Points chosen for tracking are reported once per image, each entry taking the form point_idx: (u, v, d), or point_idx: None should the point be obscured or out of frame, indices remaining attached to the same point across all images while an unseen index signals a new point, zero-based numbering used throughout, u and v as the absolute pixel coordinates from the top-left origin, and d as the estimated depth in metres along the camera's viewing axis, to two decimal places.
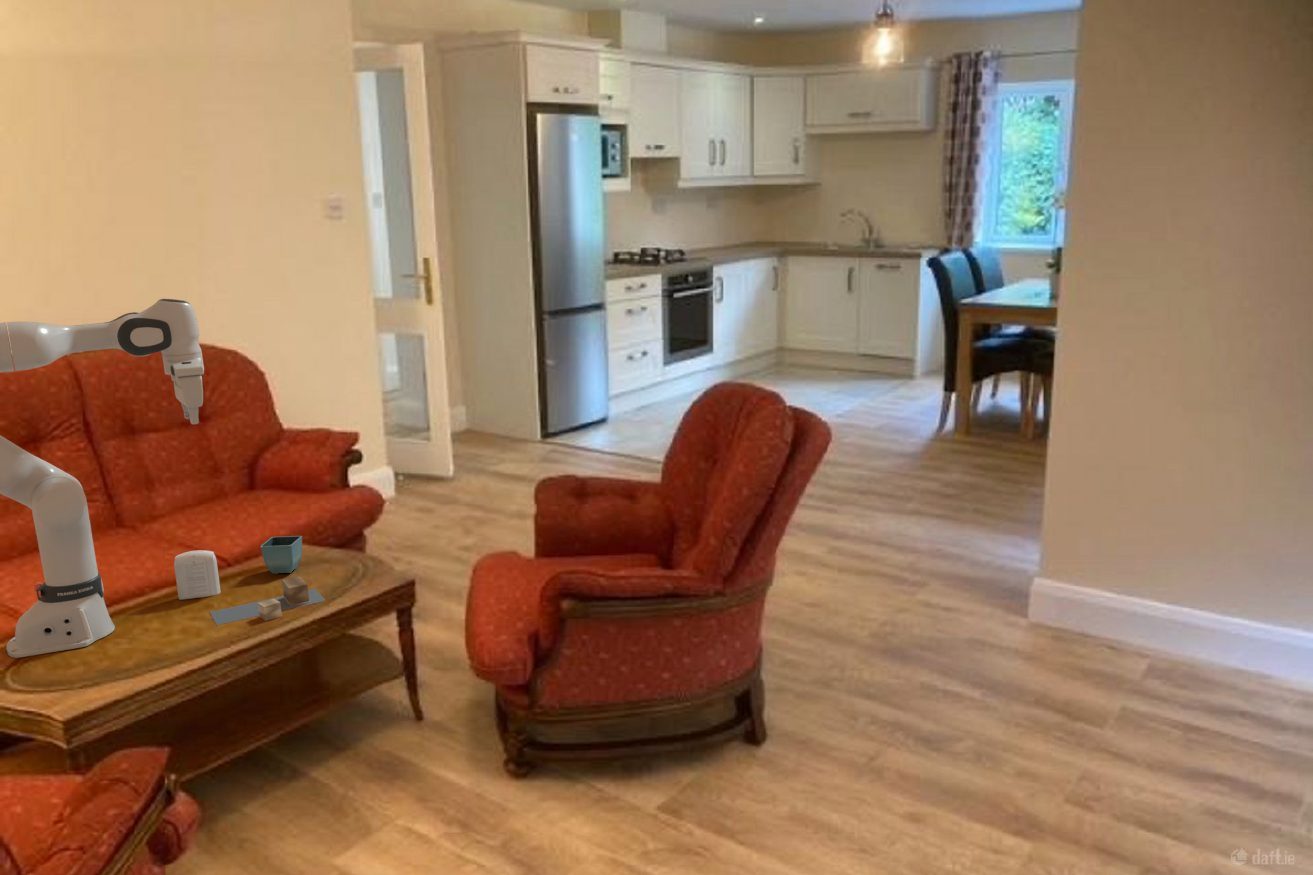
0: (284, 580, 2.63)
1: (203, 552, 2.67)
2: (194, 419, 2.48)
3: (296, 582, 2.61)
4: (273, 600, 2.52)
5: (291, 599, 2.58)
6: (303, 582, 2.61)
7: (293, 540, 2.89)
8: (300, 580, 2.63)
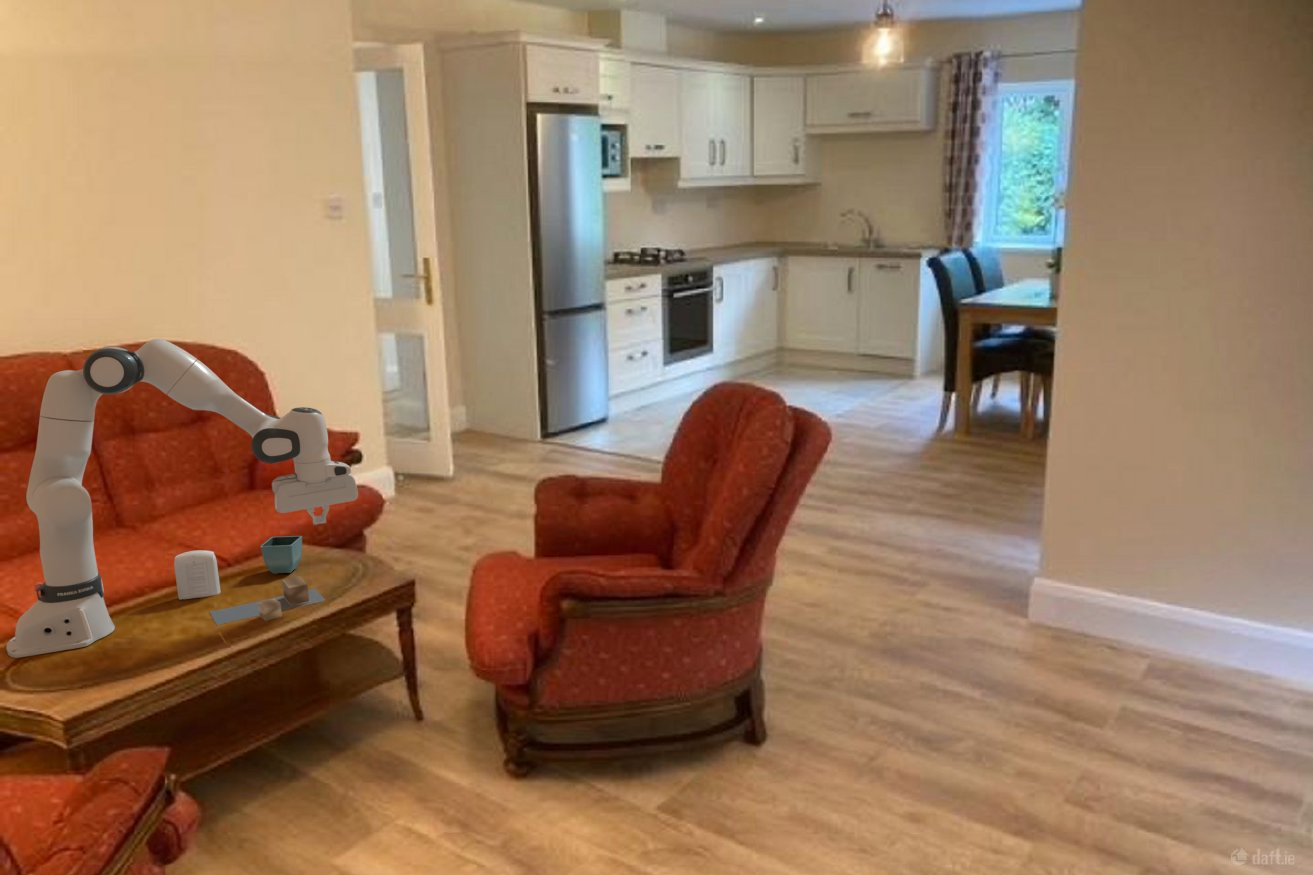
0: (284, 580, 2.63)
1: (203, 552, 2.67)
2: None
3: (296, 582, 2.61)
4: (273, 600, 2.52)
5: (291, 599, 2.58)
6: (303, 582, 2.61)
7: (293, 540, 2.89)
8: (300, 580, 2.63)
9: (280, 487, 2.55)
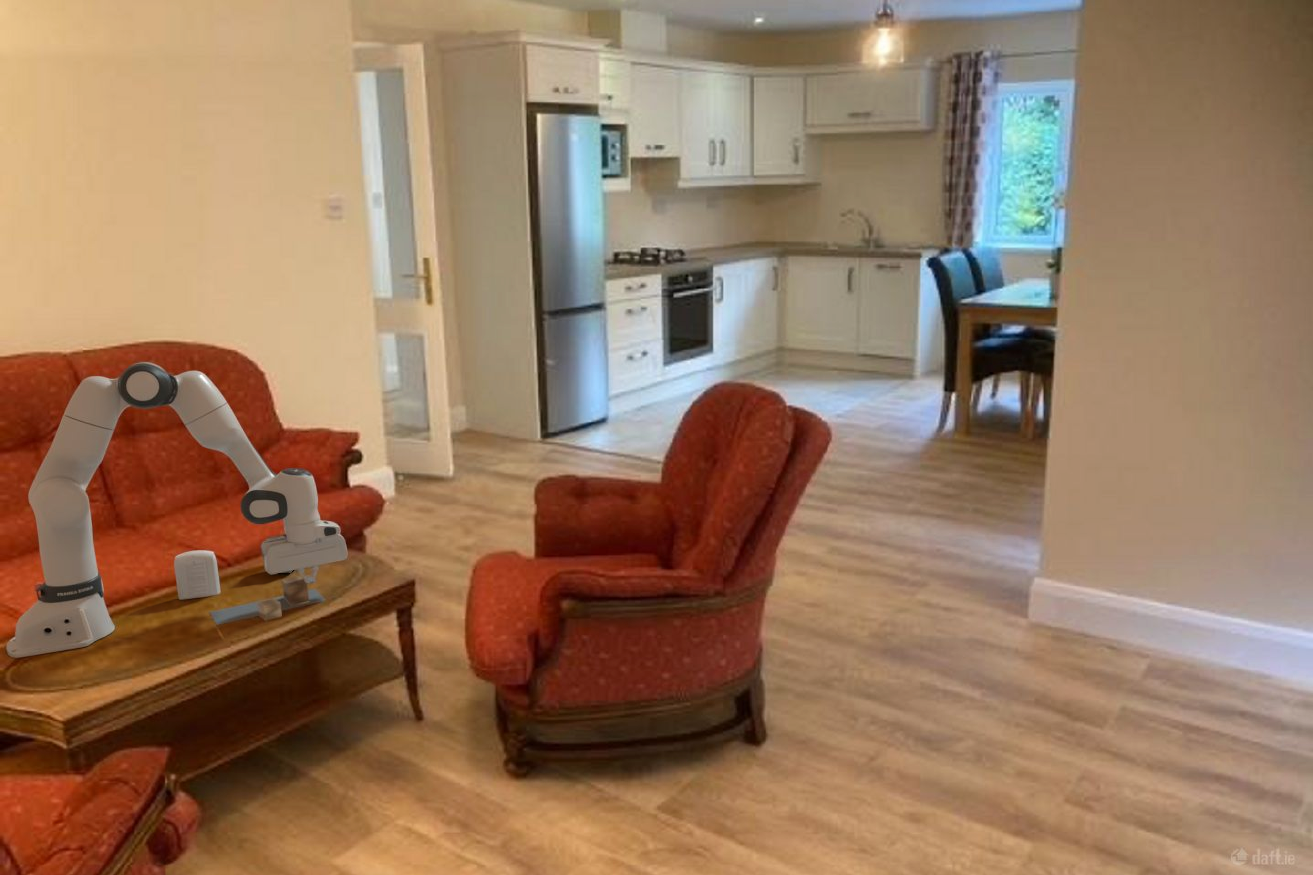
0: (284, 580, 2.63)
1: (203, 552, 2.67)
2: None
3: (296, 582, 2.61)
4: (273, 600, 2.52)
5: (291, 599, 2.58)
6: (303, 582, 2.61)
7: None
8: (300, 580, 2.63)
9: (270, 549, 2.55)
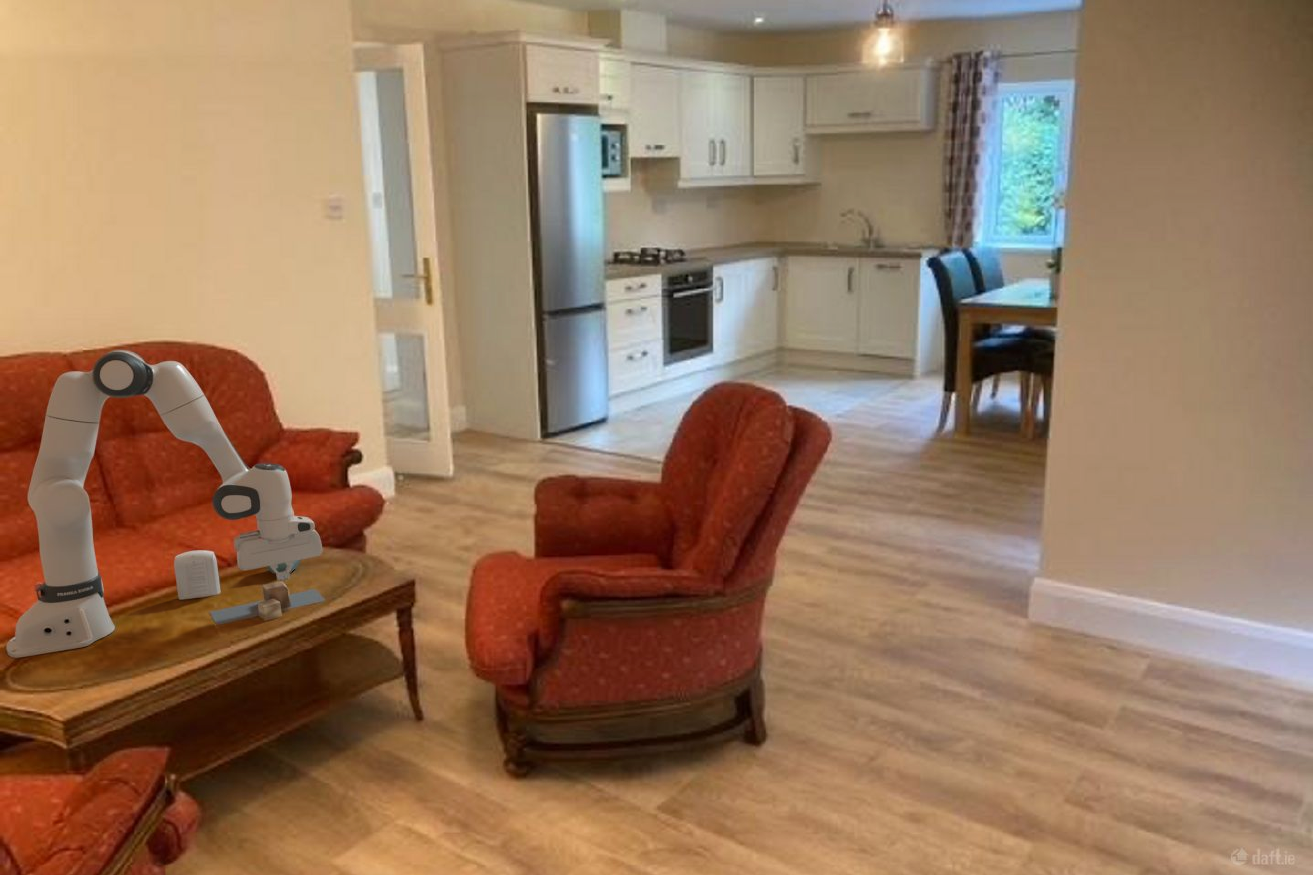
0: None
1: (203, 552, 2.67)
2: None
3: (267, 596, 2.58)
4: (273, 600, 2.52)
5: (283, 606, 2.57)
6: (267, 593, 2.56)
7: None
8: (265, 591, 2.58)
9: (242, 544, 2.52)
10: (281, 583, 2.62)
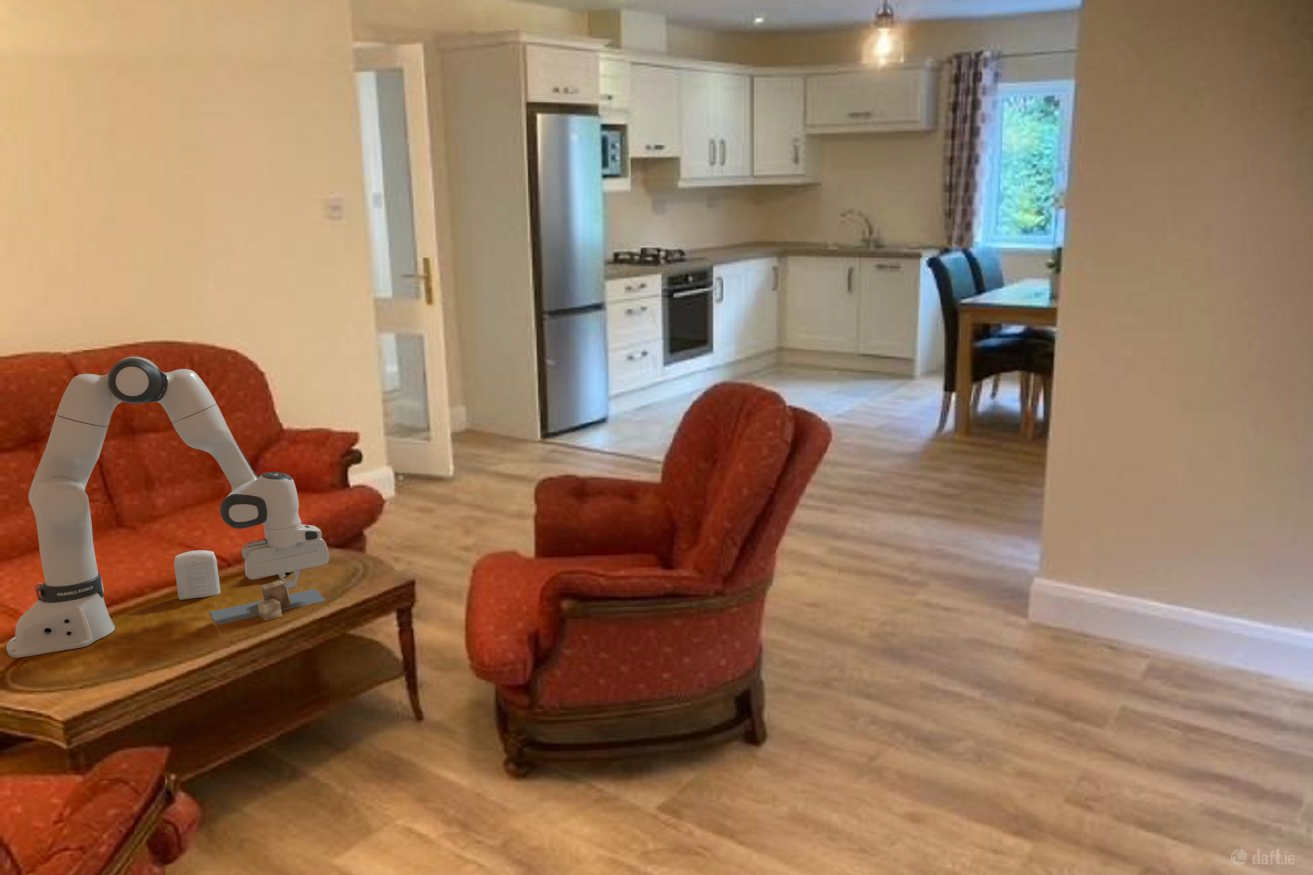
0: None
1: (203, 552, 2.67)
2: None
3: (266, 596, 2.58)
4: (273, 600, 2.52)
5: (283, 606, 2.57)
6: (266, 593, 2.56)
7: None
8: (264, 591, 2.58)
9: (250, 553, 2.53)
10: (280, 582, 2.62)
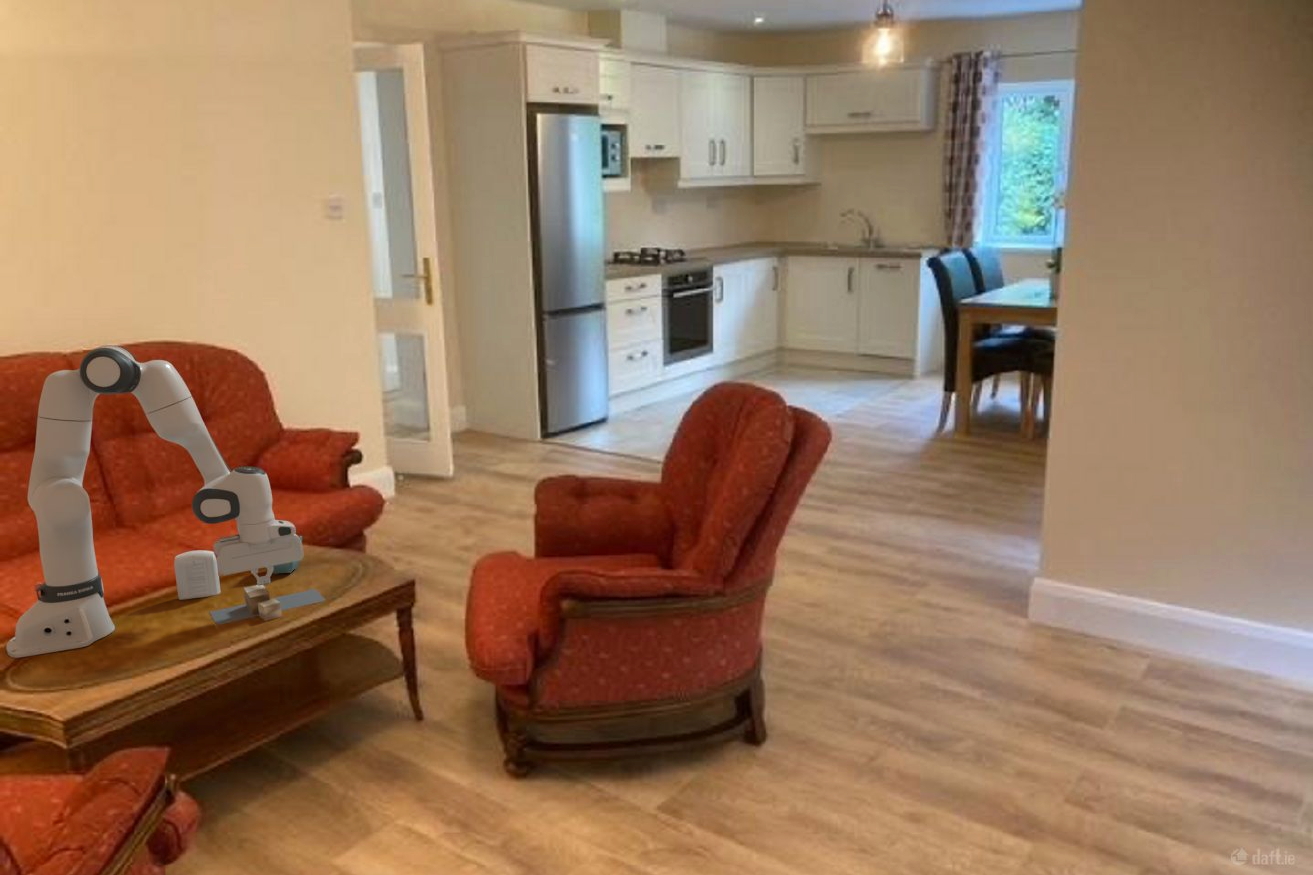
0: None
1: (203, 552, 2.67)
2: None
3: None
4: (273, 600, 2.52)
5: (268, 599, 2.55)
6: None
7: None
8: None
9: (222, 549, 2.49)
10: (245, 592, 2.57)
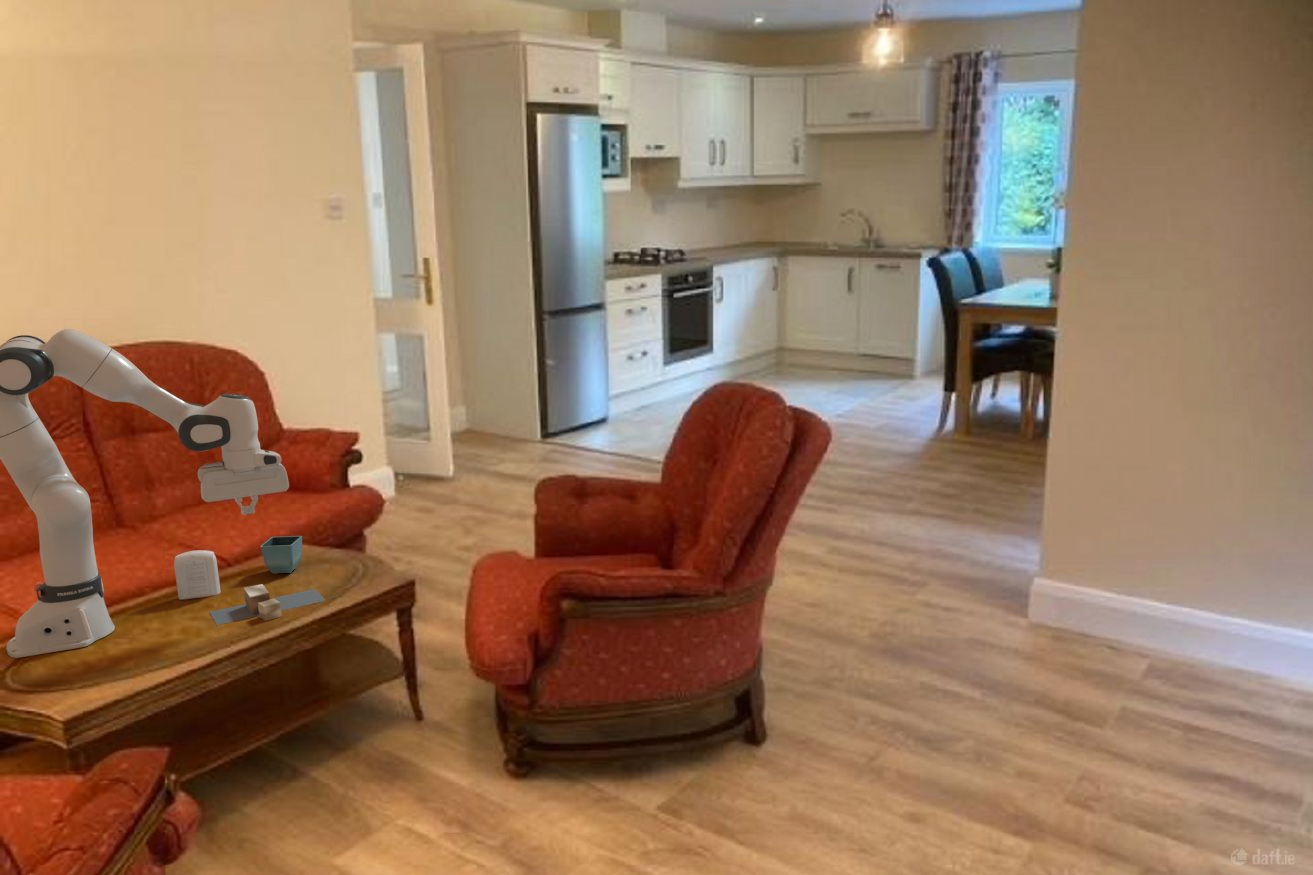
0: None
1: (203, 552, 2.67)
2: (253, 508, 2.55)
3: None
4: (273, 600, 2.52)
5: (268, 599, 2.55)
6: None
7: (293, 540, 2.89)
8: None
9: (206, 475, 2.47)
10: (245, 592, 2.57)
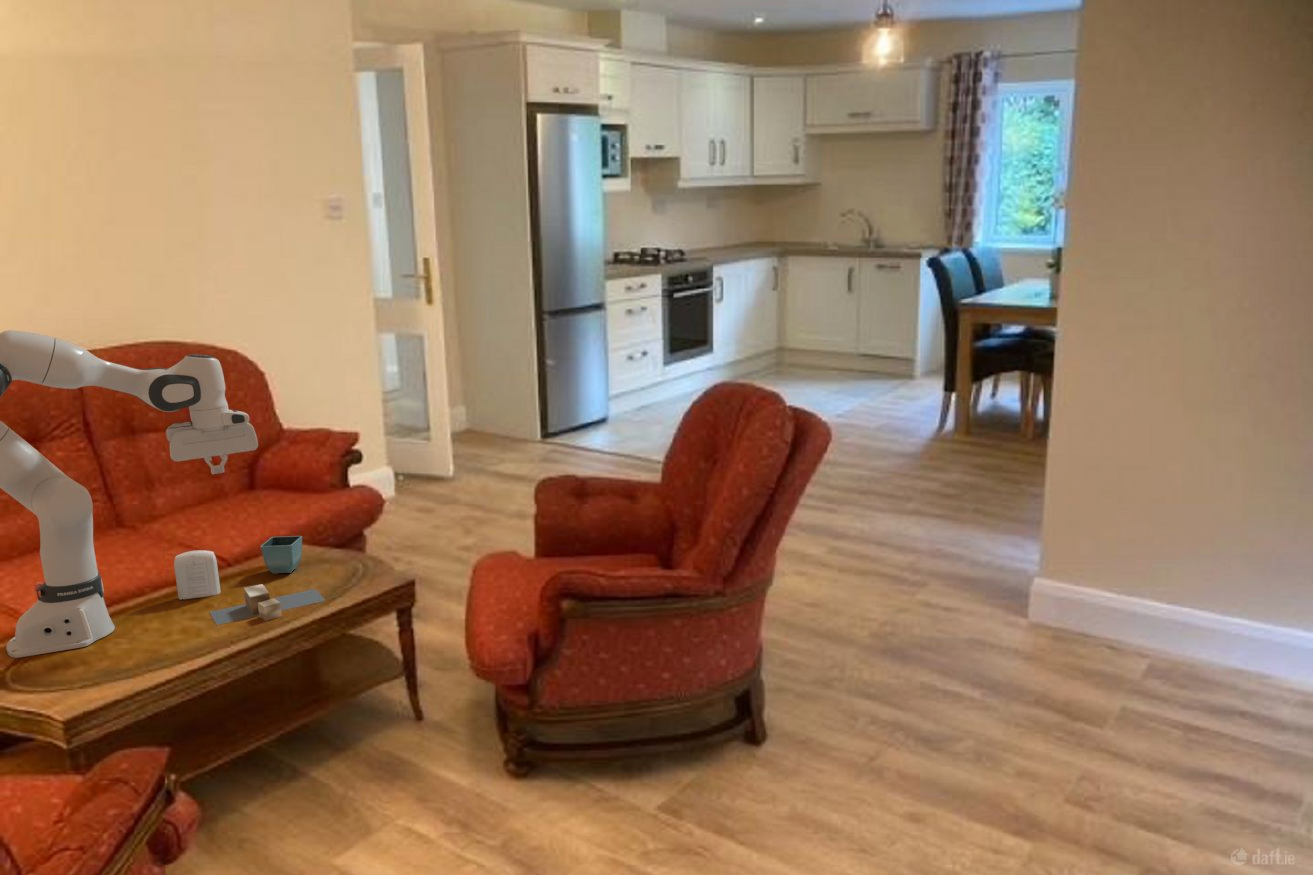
0: None
1: (203, 552, 2.67)
2: (223, 467, 2.58)
3: None
4: (273, 600, 2.52)
5: (268, 599, 2.55)
6: None
7: (293, 540, 2.89)
8: None
9: (174, 434, 2.49)
10: (245, 592, 2.57)
